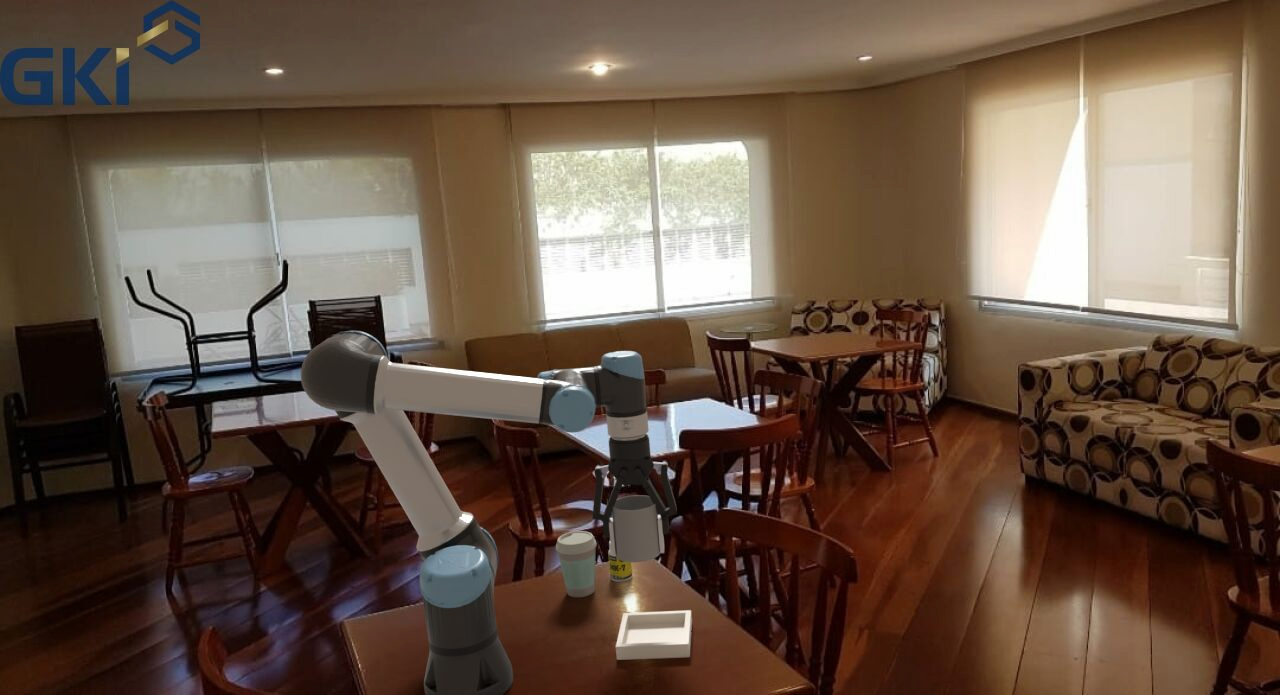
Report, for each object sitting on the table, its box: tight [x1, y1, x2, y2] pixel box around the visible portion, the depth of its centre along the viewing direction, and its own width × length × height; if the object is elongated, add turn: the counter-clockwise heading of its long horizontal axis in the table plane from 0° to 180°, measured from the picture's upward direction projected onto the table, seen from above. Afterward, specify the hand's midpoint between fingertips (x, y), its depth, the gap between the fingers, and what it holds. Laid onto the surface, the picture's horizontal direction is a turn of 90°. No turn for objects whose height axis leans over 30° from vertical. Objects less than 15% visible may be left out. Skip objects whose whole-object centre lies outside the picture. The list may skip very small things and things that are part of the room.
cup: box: [611, 494, 661, 563], centre depth 170 cm, size 8×8×10 cm
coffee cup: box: [555, 530, 598, 598], centre depth 190 cm, size 8×8×12 cm
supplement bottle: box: [607, 540, 633, 583], centre depth 195 cm, size 5×5×8 cm
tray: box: [615, 609, 693, 661], centre depth 167 cm, size 13×13×2 cm
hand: (638, 551), depth 170 cm, fingers closed on cup, 8 cm apart
